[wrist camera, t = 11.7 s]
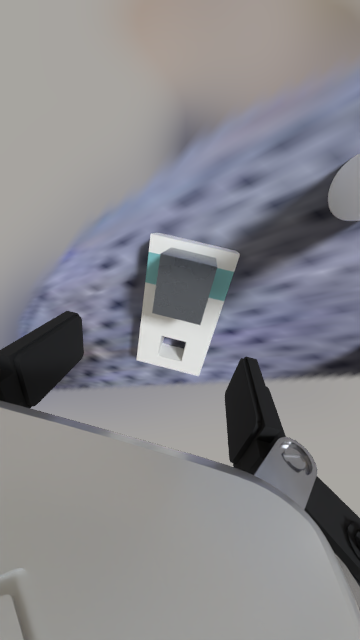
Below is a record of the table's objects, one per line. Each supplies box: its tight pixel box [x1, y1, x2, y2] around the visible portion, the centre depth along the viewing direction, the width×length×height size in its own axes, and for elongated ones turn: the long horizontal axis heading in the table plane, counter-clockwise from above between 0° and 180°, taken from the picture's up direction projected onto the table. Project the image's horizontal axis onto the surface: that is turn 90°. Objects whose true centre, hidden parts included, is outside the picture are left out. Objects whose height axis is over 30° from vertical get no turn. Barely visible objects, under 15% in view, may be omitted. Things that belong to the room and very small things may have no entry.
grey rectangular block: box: [152, 247, 217, 325], centre depth 25 cm, size 6×7×10 cm
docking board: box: [137, 233, 240, 376], centre depth 31 cm, size 22×12×4 cm, turn 169°
